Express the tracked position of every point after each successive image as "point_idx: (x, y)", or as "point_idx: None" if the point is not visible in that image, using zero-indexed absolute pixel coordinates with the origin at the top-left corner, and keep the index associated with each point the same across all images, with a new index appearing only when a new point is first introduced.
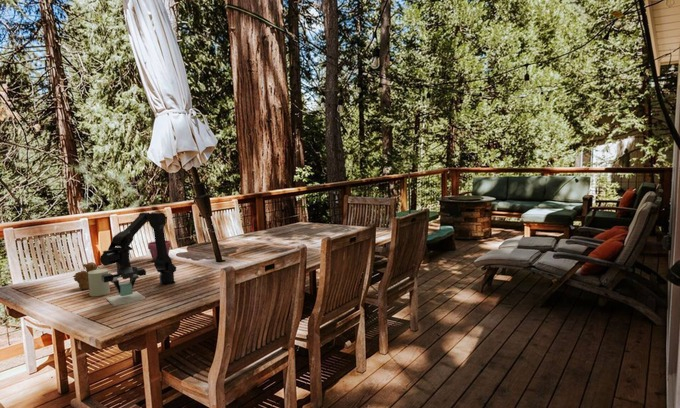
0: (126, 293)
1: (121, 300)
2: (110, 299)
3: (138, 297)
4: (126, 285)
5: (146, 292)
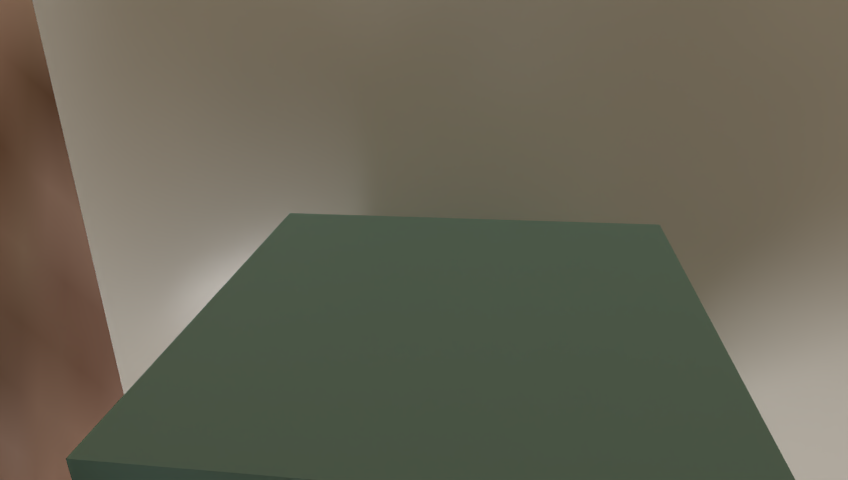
0: (478, 249)
1: (668, 125)
2: (835, 442)
3: (188, 46)
4: (410, 468)
5: (3, 428)
